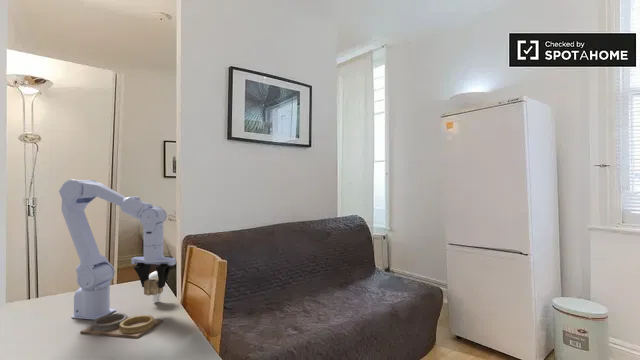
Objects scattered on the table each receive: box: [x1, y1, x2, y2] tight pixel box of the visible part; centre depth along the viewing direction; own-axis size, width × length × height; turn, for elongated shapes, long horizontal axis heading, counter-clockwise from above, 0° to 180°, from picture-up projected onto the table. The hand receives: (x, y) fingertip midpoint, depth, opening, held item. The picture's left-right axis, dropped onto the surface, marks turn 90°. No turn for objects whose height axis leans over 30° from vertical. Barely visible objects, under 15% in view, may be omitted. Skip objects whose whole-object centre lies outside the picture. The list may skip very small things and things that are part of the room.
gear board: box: [80, 312, 164, 339], centre depth 96 cm, size 18×11×2 cm, turn 80°
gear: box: [143, 278, 164, 296], centre depth 106 cm, size 5×5×4 cm
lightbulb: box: [149, 270, 162, 303], centre depth 116 cm, size 6×6×11 cm
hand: (153, 286), depth 105 cm, fingers closed on gear, 5 cm apart
